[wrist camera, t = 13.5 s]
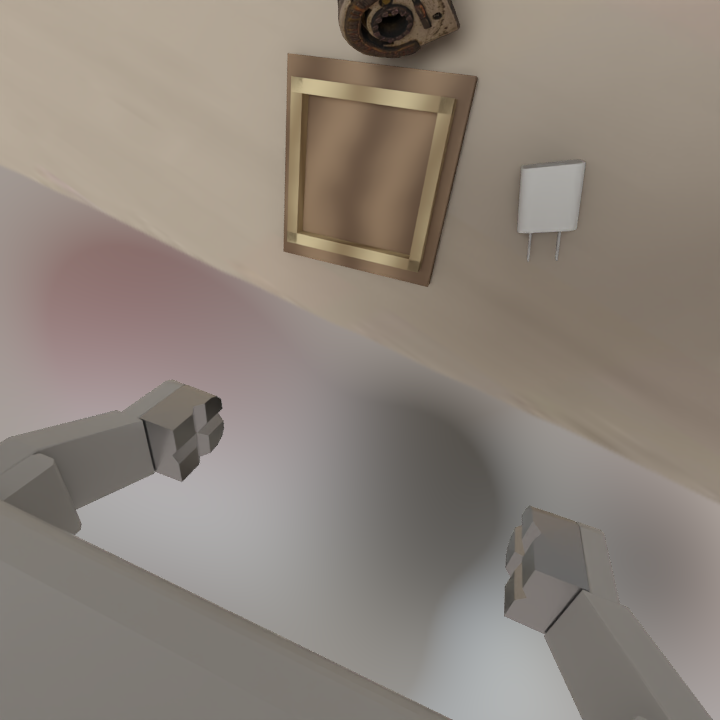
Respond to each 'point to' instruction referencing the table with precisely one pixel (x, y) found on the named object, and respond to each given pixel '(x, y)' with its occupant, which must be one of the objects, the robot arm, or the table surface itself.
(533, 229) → the usb wall charger
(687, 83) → the table surface
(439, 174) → the picture frame
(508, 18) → the table surface
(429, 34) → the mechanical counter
